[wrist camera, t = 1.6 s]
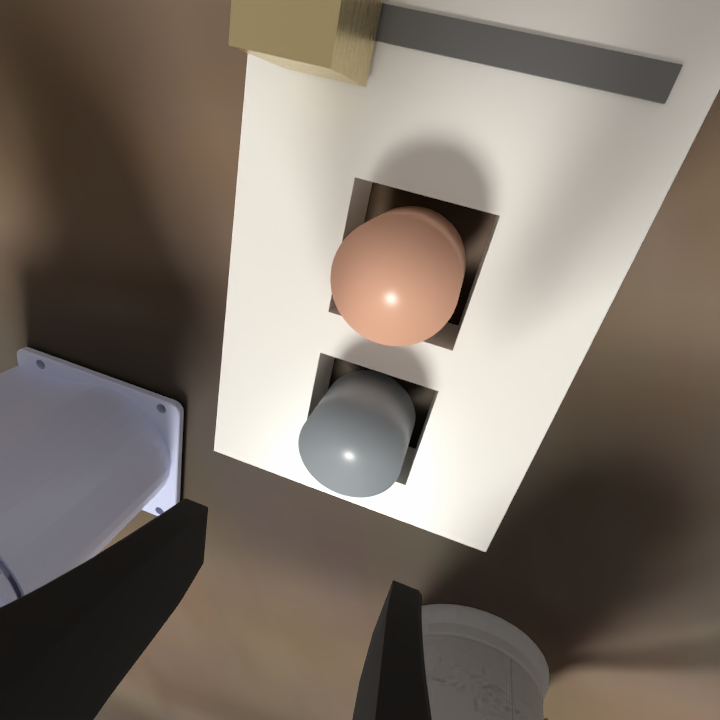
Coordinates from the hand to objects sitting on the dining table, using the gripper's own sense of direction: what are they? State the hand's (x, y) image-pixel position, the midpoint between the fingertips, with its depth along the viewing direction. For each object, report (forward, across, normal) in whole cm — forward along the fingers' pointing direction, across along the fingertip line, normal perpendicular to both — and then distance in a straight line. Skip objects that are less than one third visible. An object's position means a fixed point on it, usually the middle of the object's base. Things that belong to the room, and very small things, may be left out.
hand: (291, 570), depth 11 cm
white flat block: (+9, 0, -6) cm, 11 cm away
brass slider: (+7, +3, -12) cm, 14 cm away
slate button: (+8, 0, 0) cm, 8 cm away
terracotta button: (+8, 0, -6) cm, 10 cm away
